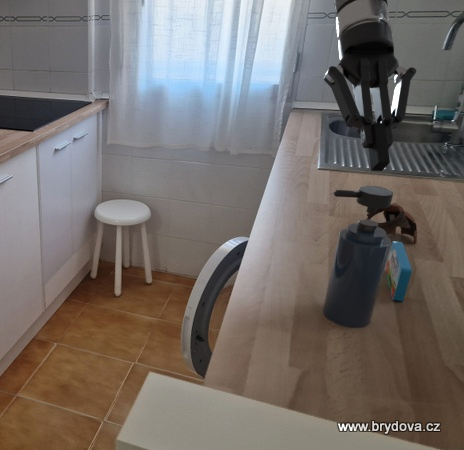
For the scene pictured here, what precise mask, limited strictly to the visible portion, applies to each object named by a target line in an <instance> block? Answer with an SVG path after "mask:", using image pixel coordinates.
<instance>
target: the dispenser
mask: <svg viewBox="0 0 464 450" xmlns="http://www.w3.org/2000/svg"><path fill="white" fill-rule="evenodd" d="M378 223H379V222H377V221H375V220H372V219H370V220H367V218H362V219H359V220H358V222H354V223H351V224H348V225H347V227H346V228H343V229H342V230H340V231H339V233H338V237H337V243H336V246H335V247H336V248H335V252H334V257H333V261H332V265H331V270H330V274H329V279H328V284H327V288H326V289H327V290H326V293H325V296H324V297H325V298H324V303H323V307H322V313H323V316H325V318H326V319H328V320H329V321H330V322H332V323H334V324H336V325H339V326H341V327H346V328H352V329H360V328H365V327H367V326H369V325H370V324H371V322H372V318H373V315H374V310H375V307H376V302H377V299H378V296H379V291H380V288H381V284H382V280H383V276H384V273H385V269H386V265H387V261H388V257H389V253H390V250H391V246H392V240H391V239H390V237H389V236H387V234H386V231H385V230H383V229H382V228H380V227H378Z"/></svg>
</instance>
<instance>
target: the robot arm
mask: <svg viewBox="0 0 464 450" xmlns="http://www.w3.org/2000/svg"><path fill="white" fill-rule="evenodd" d="M333 3H334V11H335V23H336V25H335V26H336V35H337V41H338V43H337V45H338V54H339V55H338V56H339V63H338V65H337V66H334V65H331V66H329V68H328V69H327V71H326V73H325V75H324V77H323V81H324V82H325V83H326V84H327V85H328V86H329V88H330V89H331V91H332V93H333V96H334V99H335V101H336V103H337V106H338V109H339V112H340V113H341V116H342V120H343V121H344V124H345V126H346V127H347V128H353V127H354V128H356V132H357V134H359V135H360V141H361V146H362V148H363V149H368V157H369V166H370V171H371V172H383V171H384V170H385V169H386V168H387V166H389V164H391V158H390V151H389V149H390V147H392V146H393V143H394V137H393V130H394V129H397V128H398V127H399V126H400V124H401V123H402V122H403V121H404V120H405V119H406V114H407V107H408V99H409V93H410V87H411V81H412V79H413V77H414V76H415V75H416V73H417V69H416V68H415V67H414V66H413V67H409V68H408V69H407V68H405V67H402V66H400V63H399V60H398V59H397V58H396V56H395V45H394V38H393V32H392V24H391V18H390V10H389V2H388V0H333ZM393 75H394V83H395V87H394V91H393V97H392V102H391V100H390V93H389V88H388V85H389V79H390V78H391V77H392V76H393ZM348 82H349V83H350V84H351V86H352V90H351V89H350V87H349V84H348ZM351 91H352V92H351ZM353 95H354V96H353ZM372 103H373V104H372ZM374 118H375V119H374ZM374 120H375V122H374Z"/></svg>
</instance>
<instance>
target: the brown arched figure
mask: <svg viewBox="0 0 464 450" xmlns="http://www.w3.org/2000/svg"><path fill="white" fill-rule="evenodd" d="M381 213H382V215H383V217H384V219H385V221H384V222H377V223H378V227H380V228H382V229H383V230H385V231H386V235H392V236H394V237H395V236H397V228H398V227H399V228H400V235H408V236H410V237H412V238H413V244H414V245H416V244H417V243H418V229H417V223H416V220H415V218H414V217H413V215H412V214H411V213H410V212H409V211H407V210H405V209H404V208H403V207H402V206H401V205H400V204H398V203H397V202H393V203H391V205H390V207H388V208H384V209H376V213H368V212H366V216H367V218H366V219H367V220H372V218H373V217H375V216H376V215H378V214H381Z"/></svg>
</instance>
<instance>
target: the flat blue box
mask: <svg viewBox="0 0 464 450" xmlns="http://www.w3.org/2000/svg"><path fill="white" fill-rule="evenodd" d="M412 272H413V268H412V266H411V263H410V260H409V257H408V255H407V252H406V248H405V246H404V242H401V241H395V240H393V241H391V246H390V249H389V253H388V257H387V261H386V265H385V269H384V273H385V276H386V279H387V283H388V287H389V291H390V295H391V299H392V301H396V302H401V303H402V302H404V300H405V296H406V293H407V290H408V286H409V283H410V279H411V277H412V276H411V275H412Z"/></svg>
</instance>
